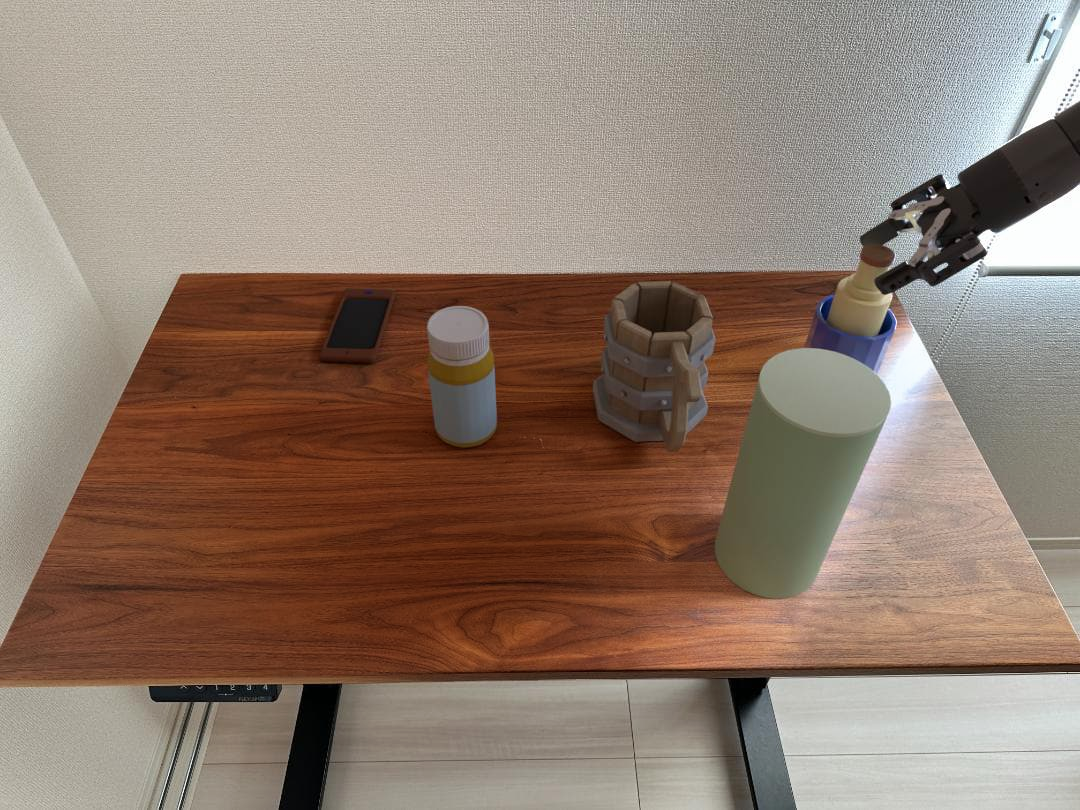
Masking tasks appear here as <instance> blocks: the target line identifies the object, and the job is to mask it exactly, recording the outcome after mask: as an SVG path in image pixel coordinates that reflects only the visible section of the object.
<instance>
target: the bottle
mask: <svg viewBox="0 0 1080 810" xmlns="http://www.w3.org/2000/svg"><path fill="white" fill-rule="evenodd" d="M426 330H427V340H428V345H429V351H428V355H427V358H426V359H427V361H426V362H427V363H426V365H427V372H428V373H427V374H428V382H429V390H430V391H429V392H430V398H431V406H432V415H433V423H434V428H435V429H434V430H435V432H436V434H437V436H438V438H440V439H441V441H443V442H444V443H446V444H448V445H450V446H453V447H456V448H461V449H465V448H466V449H467V448H474V447H477V446H480V445H482V444H483V443H485V442H487V441H488V440H490V438H491V437H493V436H494V434H495V432H496V431H497V427H498V415H497V413H498V412H497V393H496V392H497V391H496V370H495V356H494V352H493V351H492V348H491V346H490V328H489V320H488V318H487V317H486V314H484V313H483V312H482V311H481V310H479V309H477V308H474V307H471V306H465V305H453V306H447V307H444V308H442V309H440V310H438V311H436V312H434V313H433V314H432V315H431V316H430V318H429V319H428V320H427V325H426Z"/></svg>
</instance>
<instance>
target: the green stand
mask: <svg viewBox="0 0 1080 810" xmlns="http://www.w3.org/2000/svg"><path fill="white" fill-rule="evenodd" d="M755 386H756V387H755V390H754V394H753V398H752V402H751V405H750V409H749V412H748V415H747V416H748V417H747V419H746V424H745V428H744V431H743V436H742V439H741V443H740V446H739V450H738V453H737V458H736V461H735V465H734V469H733V473H732V475H731V480H730V484H729V487H728V491H727V495H726V499H725V502H724V506H723V510H722V513H721V517H720V522H719V525H718V528H717V533H716V535H715V540H714V555H715V558H716V562H717V564H718V566H719V567H720V569H721V571H722V572H723V574H724V575H725V576H726V577H727V578H728V580H730V581H731V582H732V583H733V584H735V585H736V586H737V587H739V588H741V589H742V590H743V591H746V592H747V593H750V594H752V595H755V596H758V597H762V598H765V599H766V598H767V599H777V600H778V599H780V600H782V599H790V598H793V597H796V596H798V595H801V594H802V593H804V592H806V591H807V590H808V589H809V588H810V587H812V585H813V584H814V583H815V581H816V580H817V577H818V575H819V573H820V570H821V568H822V566H823V565H824V564H823V563H824V561H825V559H826V557H827V555H828V552H829V550H830V548H831V545H832V543H833V541H834V538H835V536H836V534H837V532H838V529H839V527H840V525H841V523H842V520H843V518H844V516H845V514H846V512H847V509H848V507H849V505H850V503H851V499H852V498H853V495H854V493H855V491H856V488H857V486H858V484H859V482H860V480H861V477H862V476H863V472H864V470H865V468H866V466H867V463H868V462H869V459H870V457H871V454H872V453H873V450H874V447H875V445H876V443H877V441H878V439H879V437H880V434H881V432H882V430H883V427H884V426H885V425H884V424H885V423H886V421H887V417H888V416H889V413H890V410H891V407H892V406H891V405H892V400H891V399H892V397H891V394H890V390H889V388H888V387H887V385H886V384H885V382H884V380H883V379H882V378H881V377H880V376H879V375H878V373H877V374H876V373H875V372H874V371H873V370H871V369H870V368H869V367H867V366H866V365H864V364H863V363H861V362H859V361H857V360H855V359H853V358H851V357H849V356H846V355H844V354H840V353H837V352H834V351H829V350H824V349H816V348H804V347H803V348H802V347H801V348H800V347H799V348H793V349H788V350H785V351H781V352H779V353H777V354H775V355H773V356H771V358H769V359H768V360H767V361H766V362H765V363H764V364H763V366H762V367H761V369H760V371H759V375H758V380H757V382H756V385H755Z"/></svg>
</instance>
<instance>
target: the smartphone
mask: <svg viewBox="0 0 1080 810" xmlns="http://www.w3.org/2000/svg"><path fill="white" fill-rule="evenodd" d="M396 293H397V292H396V291H395V290H393V289H378V288H377V289H375V288H373V289H372V288H345V290H344V291H343V294H342V295H341V298H340V301H339V303H338V306H337V309H336V310H335V313H334V315H333V318H332V320H331V323H330V326H329V328H328V331H327V333H326V336H325V339H324V341H323V343H322V347H321V348H320V352H319V354H318V361H320V362H327V363H329V362H330V363H353V364H354V363H356V364H373V363H374V362H376V359H377V356H378V353H379V350H380V348H381V347H380V346H381V344H382V341H383V338H384V337H383V336H384V333H385V330H386V328H387V324H388V320H389V317H390V314H391V311H392V307H393V306H394V301H395V298H396Z"/></svg>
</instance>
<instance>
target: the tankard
mask: <svg viewBox="0 0 1080 810" xmlns="http://www.w3.org/2000/svg"><path fill="white" fill-rule="evenodd" d="M713 321H714V317H713V314H712V312H711V308H710V306H709V303H708V301H707V299H706V297H705V296H704V295H703V293H702V294H701V293H700V292H698V291H695V290H693V289H690V288H689V287H686V286H684V285H682V284H680V283H678V282H675V281H672V283H671V281H670V280H663V281H662V280H660V281H658V280H657V281H637V282H636V283H635V282H634V283H632V284H631V285H629V286H628V287H627V288H625V289H624V290H622V291H621V292H620V293H618V294H617V295H616V296H614V297H613V298H612V300H611V305H610V312H609V313H607V314H606V315H605V316H604V321H603V340H604V341H605V346H606V347H605V348H603V349H602V350H601V357H600V367H601V369H600V372H601V375H600V376H598V377H597V378H596V379H595V380H593V382H592V393H593V398H594V404H595V409H596V410H595V411H596V416H597V420H598V421H599V422H601V423H602V424H604V425H605V426H607V427H609V428H610V429H612V430H614V431H616V432H618V433H620V434H621V435H623V436H624V437H626V438H627V439H629V440H631V441H633V442H635V443H639V442H641V443H642V442H660V441H661V442H662V441H663V443H664V446H665V449H666V451H667V452H668V453H678V452H679V450H681V449H682V447H683V446H684V444H685V443H686V437H687V435H688V434H689V433H690V432H691V431H692V430H693V429H694V428H695V427H696V426H697V425H698V424H699V423H700V422H701V421H703V419H704V418H705V417H706V416H707V413H708V410H709V406H708V403H707V399H706V397H705V394H704V390H705V389H706V387H707V381H708V378H709V372H708V369H707V365H706V363H705V362H706V360H708V359H709V358H710V357H712V355H713V354H714V348H715V345H716V337H715V336H716V335H715V334H714V330H713V328H712V327H713Z"/></svg>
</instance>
